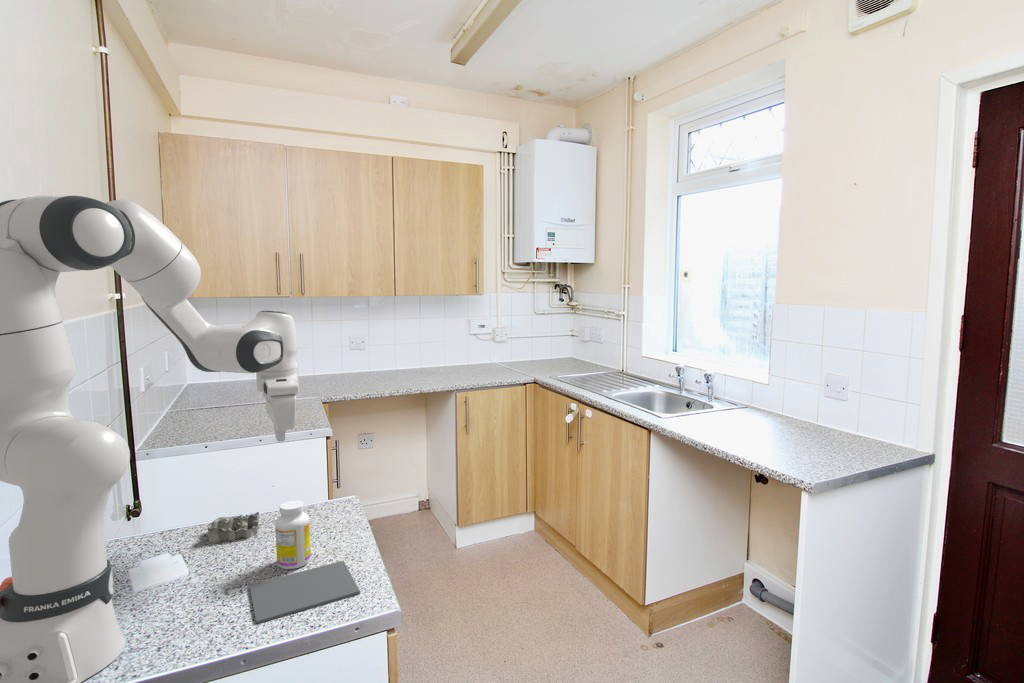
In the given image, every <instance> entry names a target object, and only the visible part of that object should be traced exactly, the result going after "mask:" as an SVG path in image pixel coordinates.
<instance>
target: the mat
mask: <svg viewBox="0 0 1024 683" xmlns="http://www.w3.org/2000/svg"><path fill="white" fill-rule="evenodd" d="M249 593H250V597H251V602H252V609H253V614H254V618H255V624H256V625H257V624H261V623H265V622H268V621H271V620H275V619H278V618H281V617H284V616H288V615H292V614H295V613H298V612H299V613H300V612H302V611H306V610H309V609H312V608H315V607H320V606H322V605H325V604H330V603H333V602H335V601H336V602H337V601H339V600H342V599H346V598H350V597H353V596H356V595H358V594H359V595H360V594H361V590H360V588H359V587H358V585H357V582H356V581H355V579H354V577H353V575H352V573H351V572H350V570H349V568H348V567H347V565H346V562H345V561H344V560H341V561H337V562H334V563H333V562H332V563H329V564H327V565H326V564H324V565H320V566H317V567H314V568H310V569H307V570H301V571H299V572H295V573H290V574H286V575H283V576H279V577H275V578H271V579H268V580H264V581H259V582H256V583H251V584H249Z"/></svg>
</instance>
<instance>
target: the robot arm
mask: <svg viewBox="0 0 1024 683" xmlns="http://www.w3.org/2000/svg"><path fill="white" fill-rule="evenodd" d="M108 266H109V267H111V268H112V269H113V270H114V271H115V272H116V273H117V274H118V275H119V276H120V277H121V278H123V279H124V281H126V283H128V285H130V286H131V287H132V288H133V289H134V291H136V293H138V294H139V295H140V296H141V298H142V301H143V302H144V304H145V305H146V306H147V308H148V309H149V310H150V311H151V312H152V313H153V314H154V315H155V317H156V318H157V319H158V320H159V321H160V322H161V323H162V325H163V326H165V327H166V328H167V329H168V331H169V332H171V334H172V335H173V336H174V337H175V338H176V340H178V341H179V343H180V344H181V346H182V348H183V349H184V351H185V353H186V356H187V358H188V360H189V362H190V363H191V364H192V365H193V366H194V367H195V368H196V369H197V370H199V371H200V372H205V373H219V372H222V373H224V372H225V373H235V374H236V373H237V374H255V373H256V374H255V375H256V390H257V391H258V392H261V393H263V395H262V396H263V398H265V411H266V414H267V415H268V418H269V419H270V421H271V422H272V424H273V428H274V438H275V439H276V440H275V441H277V443H281V442H285V440H286V431H287V430H293V429H294V428H295V426H296V425H295V424H296V415H297V414H296V413H297V395H298V394H299V393H300V382H299V365H298V362H297V352H298V336H297V327H296V323H295V320H294V318H293V316H292V315H291V314H289V313H287V312H285V311H275V310H260V311H258V312H257V313H256V315H255V317H254V318H253V319H251V321H249V322H248V323H246V324H244V325H242V326H241V327H225V326H219V325H216V324H211V323H209V322H207V321H206V320H205V319H204V318H203V317H202V315H201V314H200V313H199V312H198V311H197V310H196V308H195V307H194V306H193V305H192V303H191V302H190V301H189V300H188V298H190V296H191V295H193V293H194V292H195V291H196V289H197V288H198V286H199V284H200V283H201V278H202V277H201V276H202V271H201V270H202V269H201V266H200V264H199V262H198V260H197V259H196V257H195V256H194V254H193V253H192V251H190V249H189V248H188V247H187V246H186V245H185V244H184V243H183V242H182V241H181V240H180V239H179V237H177V236H176V235H175V233H174V232H173V231H171V230H170V229H169V228H168V227H167V226H166V225H165V224H164V223H163V222H161V220H159V219H158V218H157V217H156V216H154V215H153V214H152V213H150V212H149V211H148V210H147V209H145V208H143V207H142V206H141V205H140V204H139V203H137V202H135V201H131V200H128V199H115V200H114V199H113V200H110V201H107V202H103V201H101V200H98V199H96V198H95V199H94V198H91V197H87V196H83V195H67V196H66V195H65V196H52V195H35V196H27V197H22V198H19V199H8V200H3V201H1V202H0V482H3V483H6V484H10V485H13V486H16V487H17V486H18V487H19V489H21V492H22V495H23V504H22V510H21V515H20V518H19V522H18V525H17V526H16V527H15V528H14V529H13V530H12V532H11V533H10V535H9V537H8V551H9V561H10V571H11V576H8V577H7V578H4V579H3V581H2V582H1V584H0V683H82V682H84V681H86V680H87V679H89V678H90V677H92V676H94V675H96V674H98V673H99V672H100V671H102V670H103V669H105V668H106V667H108V666H109V665H110V664H111V663H112V662H114V661H115V660H116V659H117V658H118V657H119V655H121V653H122V652H123V650H124V649H125V647H126V644H127V637H126V636H125V634H124V632H123V630H122V628H121V625H120V623H119V621H118V618H117V614H116V611H115V607H114V603H113V595H114V593H115V592H114V576H113V574H114V573H113V570H112V567H111V561H110V560H109V559H108V558H107V540H106V539H107V538H106V527H105V526H106V523H105V522H106V511H107V506H108V503H109V498H110V494H111V491H112V488H113V487H114V486H115V485H116V484H118V482H119V481H121V479H122V477H123V476H124V475H125V474H126V472H127V470H128V467H129V465H130V460H131V450H130V447H129V445H128V443H127V441H126V439H125V438H123V436H121V435H120V434H119V433H118V432H115V431H114V430H113V429H111V428H109V427H107V426H105V425H104V424H101V423H99V422H96V421H92V420H85V419H82V418H81V419H80V418H75V417H74V415H73V414H72V412H71V409H70V404H69V403H70V402H69V401H70V399H69V397H70V396H69V395H70V394H69V393H70V385H71V382H72V381H73V379H74V377H75V376H76V372H77V365H76V362H75V361H76V360H75V358H74V355H73V351H72V347H71V344H70V341H69V337H68V333H67V329H66V327H65V322H64V320H63V316H62V314H61V310H60V306H59V304H58V301H57V297H56V285H57V280H58V277H59V276H60V274H61V273H70V272H71V273H72V272H78V271H79V272H80V271H96V270H101V269H103V268H106V267H108ZM296 394H297V395H296Z"/></svg>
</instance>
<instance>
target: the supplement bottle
mask: <svg viewBox="0 0 1024 683" xmlns="http://www.w3.org/2000/svg"><path fill="white" fill-rule="evenodd" d="M304 506H305V504H304V502H303V501H302V500H289V501H286V502H283V503H281V504H280V505H279V513H280V516H278V517H277V519H275V523H274V524H275V525H274V526H275V544H276V545H275V546H276V547H275V548H276V562H277V566H278V567H279V568H281V569H283V570H296V569H298V568H302V567H304V566H306V565H307V564H308V563H309V562H310V560H311V558H312V557H311V556H312V555H311V553H312V552H311V536H310V535H311V534H310V533H311V530H310V528H311V527H310V517H309V515H308V514H307V513H306V512H304V509H305V507H304Z"/></svg>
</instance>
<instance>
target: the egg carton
mask: <svg viewBox="0 0 1024 683" xmlns="http://www.w3.org/2000/svg"><path fill="white" fill-rule="evenodd" d="M259 517H260V512H259V511H256V512H255V513H251V514H245V515H243V514H240V515H237V516H236V515H235V516H229V517H227V516H221V517H218V518H216V519H215V520H213V521H212V522H211V524H210V525H209V527H207V533H208V543H209V542H210V543H213V544H216V543H217V544H218V543H220V542H221V541H223V540H224V541H225V540H229V541H231V542H232V541H235V539H236V540H237V539H239V538H245V539H250V538H249V537H251V538H252V537H254V536H256V535H255V534H257V533H258V529H259V528H260V523H259V522H260V520H259V519H260V518H259ZM250 525H252V526H250ZM249 527H251V528H250V529H249ZM257 528H258V529H257ZM232 529H233V530H232ZM234 529H236V530H234ZM253 535H254V536H253ZM257 535H258V534H257ZM238 537H239V538H238Z"/></svg>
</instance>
